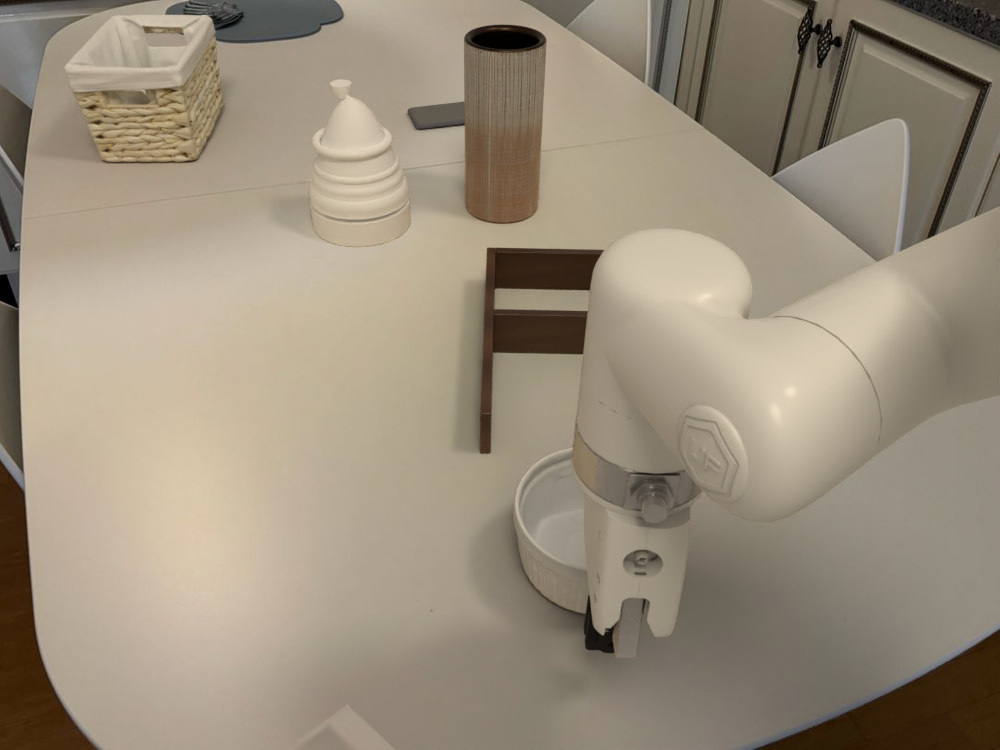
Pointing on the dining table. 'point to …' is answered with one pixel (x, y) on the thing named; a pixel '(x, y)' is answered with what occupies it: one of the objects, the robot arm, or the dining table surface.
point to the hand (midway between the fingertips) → (607, 640)
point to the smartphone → (438, 115)
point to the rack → (530, 311)
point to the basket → (148, 88)
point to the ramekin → (553, 530)
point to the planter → (503, 120)
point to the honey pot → (357, 178)
